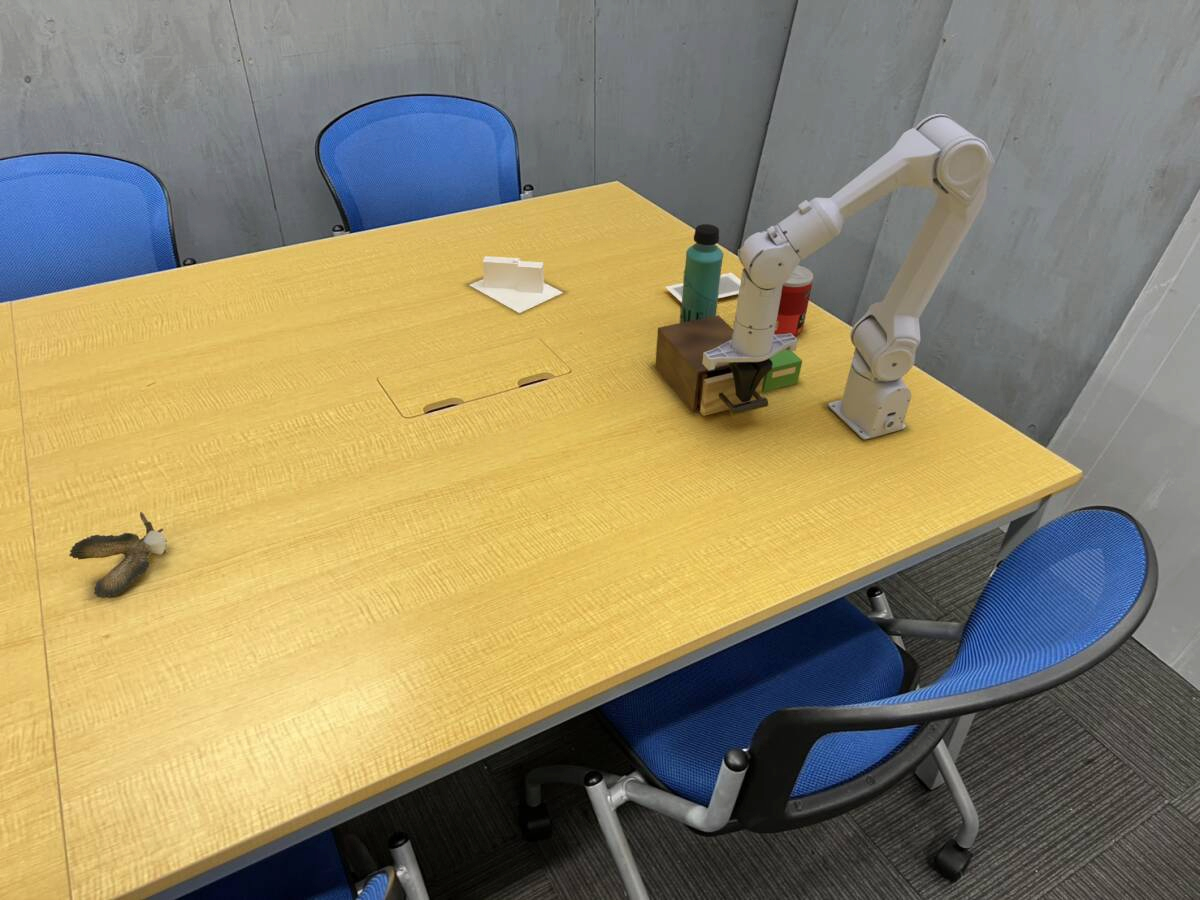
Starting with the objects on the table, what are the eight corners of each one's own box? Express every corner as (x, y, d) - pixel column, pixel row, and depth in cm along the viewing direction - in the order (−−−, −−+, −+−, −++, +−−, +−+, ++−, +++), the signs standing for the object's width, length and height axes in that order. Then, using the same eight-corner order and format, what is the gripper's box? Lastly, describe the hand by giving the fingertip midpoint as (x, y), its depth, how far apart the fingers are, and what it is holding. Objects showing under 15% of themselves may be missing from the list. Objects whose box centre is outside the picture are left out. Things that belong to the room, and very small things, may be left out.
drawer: (776, 419, 123) (782, 387, 119) (719, 434, 120) (723, 401, 116) (719, 360, 136) (724, 328, 132) (666, 372, 133) (669, 340, 129)
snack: (797, 383, 132) (802, 360, 129) (763, 392, 130) (767, 368, 127) (784, 370, 135) (788, 347, 132) (750, 378, 133) (754, 355, 130)
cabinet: (754, 397, 129) (761, 357, 124) (692, 413, 125) (697, 372, 120) (713, 354, 139) (718, 314, 134) (655, 367, 135) (657, 327, 130)
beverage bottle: (714, 324, 146) (727, 220, 133) (714, 344, 141) (728, 237, 128) (678, 322, 146) (687, 217, 134) (677, 341, 141) (687, 235, 129)
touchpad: (752, 295, 155) (754, 285, 153) (684, 310, 150) (685, 300, 148) (730, 277, 160) (731, 267, 159) (664, 292, 155) (665, 281, 154)
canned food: (805, 340, 142) (817, 284, 135) (760, 339, 142) (770, 283, 135) (798, 317, 148) (809, 263, 141) (755, 316, 148) (763, 262, 141)
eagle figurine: (136, 526, 103) (63, 560, 96) (146, 499, 98) (71, 533, 92) (172, 572, 103) (102, 609, 96) (185, 547, 98) (112, 584, 91)
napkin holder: (468, 285, 156) (465, 258, 152) (511, 266, 162) (510, 239, 159) (520, 313, 148) (518, 285, 144) (564, 292, 154) (563, 264, 151)
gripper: (784, 296, 117) (770, 374, 126) (696, 314, 113) (687, 393, 122) (812, 320, 112) (795, 398, 121) (720, 339, 108) (710, 420, 117)
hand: (742, 397), depth 121 cm, fingers closed
